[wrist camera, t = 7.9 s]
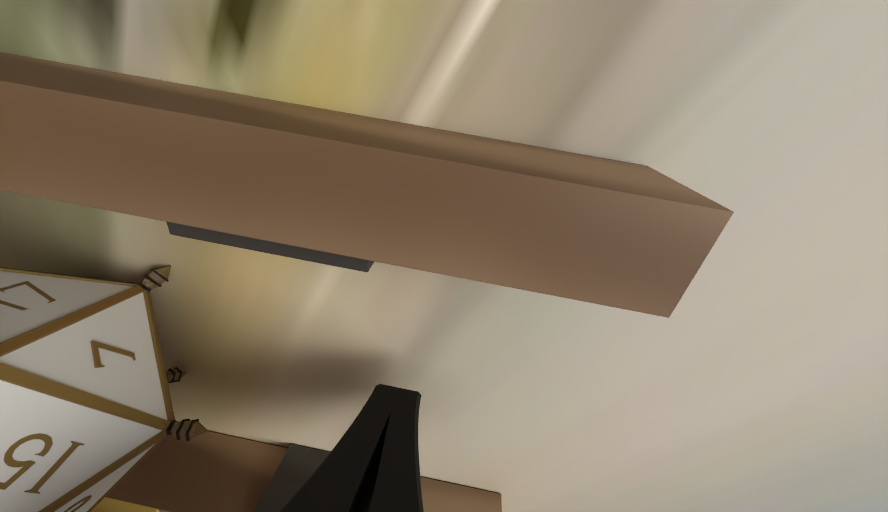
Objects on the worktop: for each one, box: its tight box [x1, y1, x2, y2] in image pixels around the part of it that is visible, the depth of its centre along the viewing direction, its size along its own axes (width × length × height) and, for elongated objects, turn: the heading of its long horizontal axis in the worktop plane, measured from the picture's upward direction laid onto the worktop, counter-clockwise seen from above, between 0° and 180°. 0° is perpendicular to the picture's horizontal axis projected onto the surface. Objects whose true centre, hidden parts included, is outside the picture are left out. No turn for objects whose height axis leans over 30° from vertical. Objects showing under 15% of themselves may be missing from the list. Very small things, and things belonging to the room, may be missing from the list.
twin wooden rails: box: [0, 52, 733, 512], centre depth 10 cm, size 16×17×4 cm
